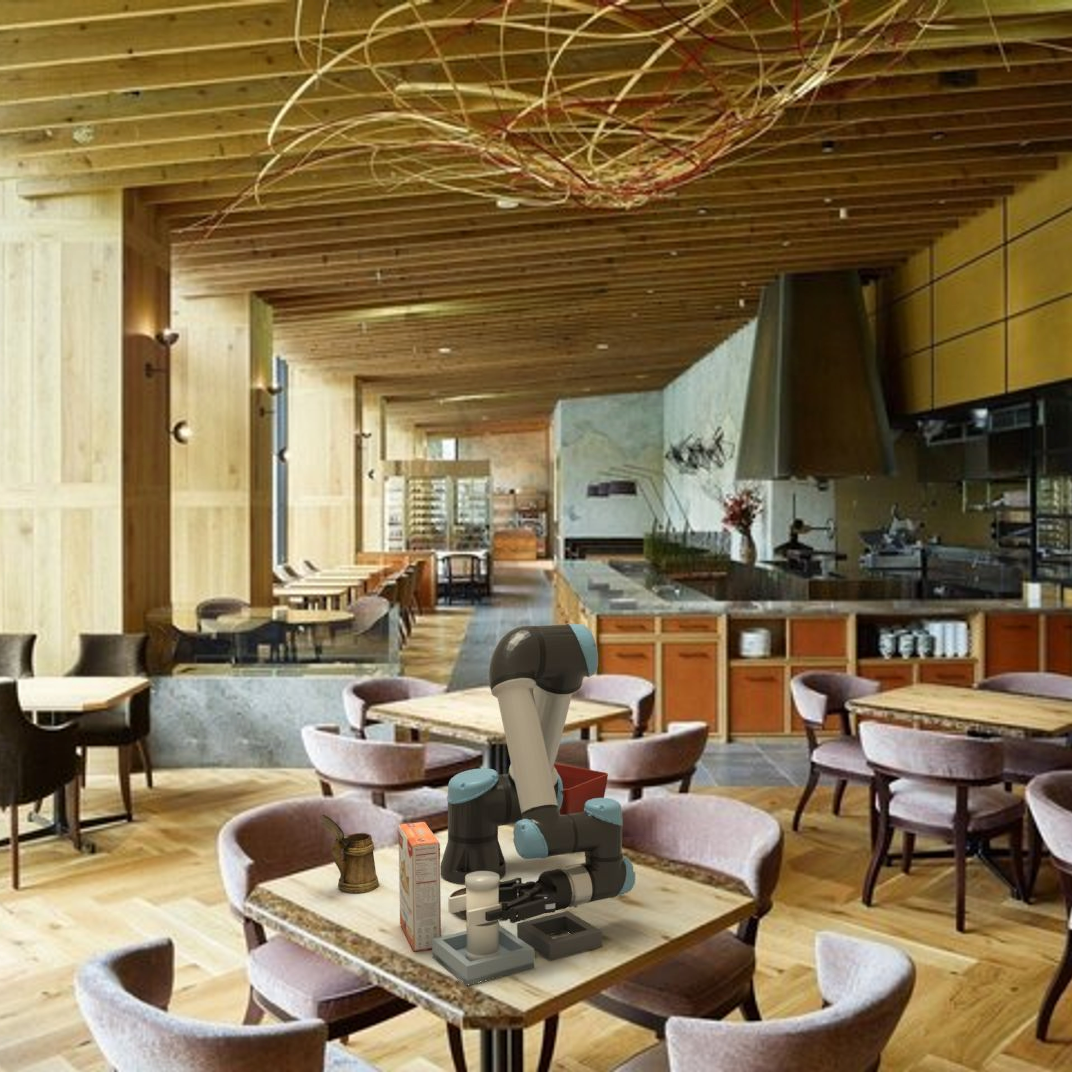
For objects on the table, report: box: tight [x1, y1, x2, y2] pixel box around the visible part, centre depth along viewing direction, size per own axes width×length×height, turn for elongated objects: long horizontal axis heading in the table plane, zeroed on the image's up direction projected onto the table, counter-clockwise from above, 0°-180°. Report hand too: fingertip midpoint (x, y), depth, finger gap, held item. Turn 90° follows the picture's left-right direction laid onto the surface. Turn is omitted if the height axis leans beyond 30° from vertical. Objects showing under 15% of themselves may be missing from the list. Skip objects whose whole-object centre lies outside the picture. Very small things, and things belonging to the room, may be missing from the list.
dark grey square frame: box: [516, 910, 603, 961], centre depth 202 cm, size 12×12×3 cm
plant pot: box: [554, 762, 609, 815], centre depth 265 cm, size 19×19×17 cm
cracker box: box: [397, 821, 442, 952], centre depth 205 cm, size 14×6×21 cm, turn 18°
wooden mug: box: [321, 814, 380, 894], centre depth 231 cm, size 9×14×18 cm, turn 132°
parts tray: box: [431, 924, 535, 986], centre depth 193 cm, size 14×14×4 cm
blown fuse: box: [464, 871, 501, 962], centre depth 193 cm, size 6×6×15 cm
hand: (458, 912), depth 190 cm, fingers open, 7 cm apart
